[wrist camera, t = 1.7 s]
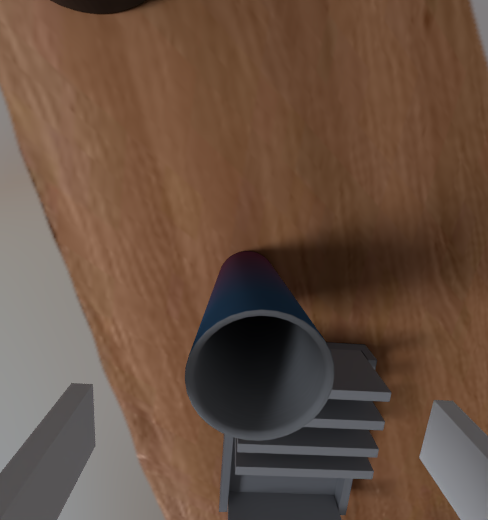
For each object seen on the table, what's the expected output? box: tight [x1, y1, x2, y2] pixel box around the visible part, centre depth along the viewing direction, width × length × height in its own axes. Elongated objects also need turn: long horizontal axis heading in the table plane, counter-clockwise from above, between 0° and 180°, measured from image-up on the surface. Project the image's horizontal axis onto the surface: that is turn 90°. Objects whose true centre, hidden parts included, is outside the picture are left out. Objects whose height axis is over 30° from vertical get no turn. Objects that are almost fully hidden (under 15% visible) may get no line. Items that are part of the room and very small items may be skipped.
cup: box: [185, 251, 334, 441], centre depth 22 cm, size 7×7×15 cm
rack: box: [219, 343, 391, 520], centre depth 30 cm, size 18×13×7 cm
